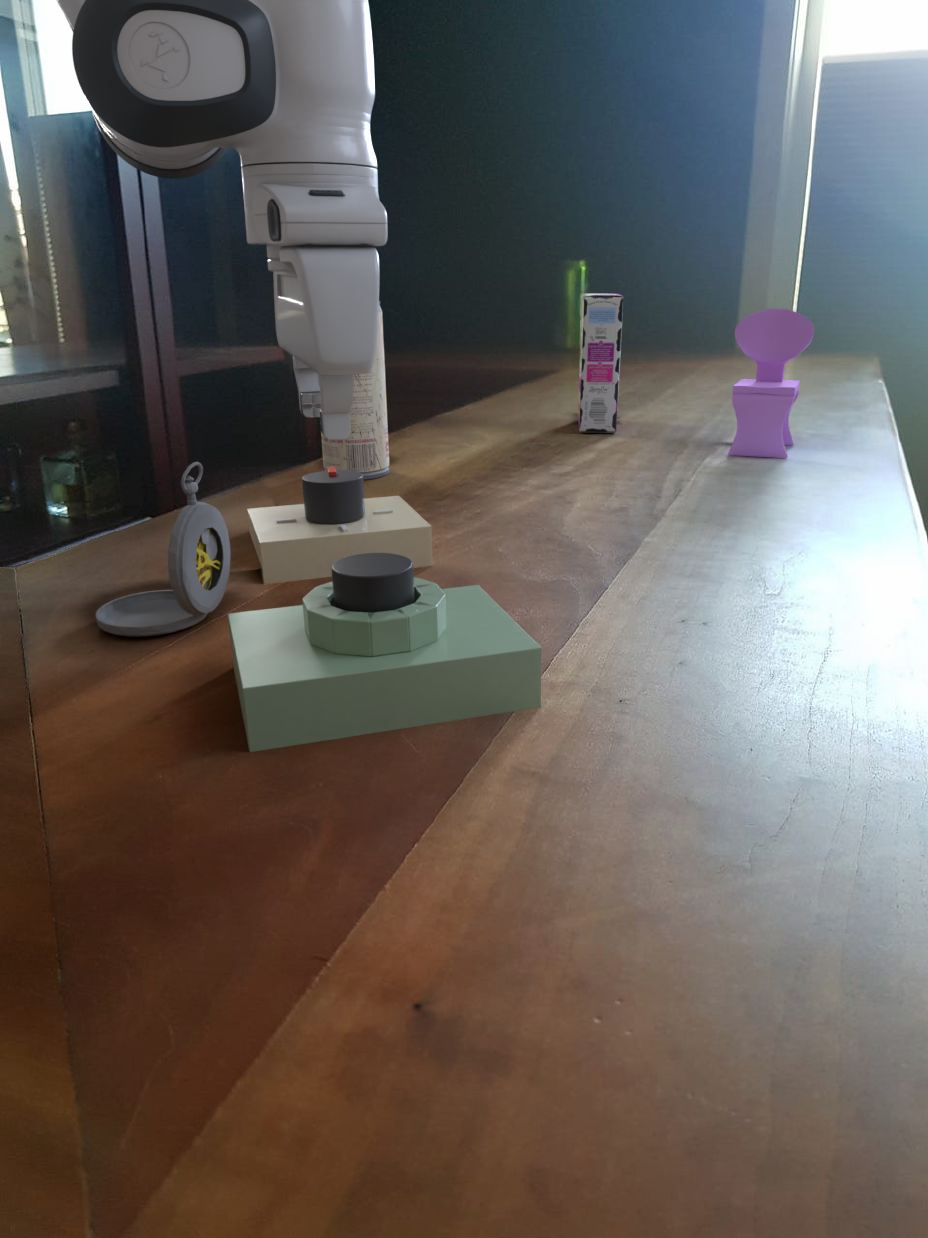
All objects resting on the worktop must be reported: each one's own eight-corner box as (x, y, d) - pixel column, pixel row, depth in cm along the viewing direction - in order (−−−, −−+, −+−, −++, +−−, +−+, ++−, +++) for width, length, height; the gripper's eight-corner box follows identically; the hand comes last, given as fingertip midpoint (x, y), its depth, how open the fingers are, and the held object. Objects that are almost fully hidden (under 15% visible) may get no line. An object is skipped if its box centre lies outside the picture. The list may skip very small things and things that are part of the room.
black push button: (341, 621, 45) (339, 580, 44) (328, 595, 48) (325, 556, 48) (423, 611, 46) (421, 571, 45) (404, 586, 49) (402, 548, 49)
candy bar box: (618, 433, 118) (624, 294, 112) (578, 433, 118) (582, 295, 112) (614, 419, 128) (619, 291, 122) (577, 419, 129) (580, 292, 123)
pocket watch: (94, 613, 60) (68, 456, 56) (228, 594, 63) (211, 444, 59) (103, 660, 53) (74, 483, 49) (253, 635, 56) (236, 467, 52)
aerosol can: (403, 471, 99) (394, 267, 92) (353, 483, 94) (340, 269, 87) (360, 463, 103) (349, 268, 96) (310, 474, 99) (294, 269, 91)
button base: (249, 753, 42) (238, 650, 41) (233, 668, 51) (223, 581, 50) (541, 708, 46) (542, 612, 44) (478, 636, 55) (477, 554, 53)
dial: (367, 522, 68) (364, 476, 67) (305, 525, 67) (302, 480, 66) (363, 507, 72) (360, 464, 71) (304, 510, 71) (301, 467, 70)
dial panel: (263, 584, 65) (259, 540, 64) (250, 546, 74) (246, 506, 73) (432, 566, 68) (431, 523, 67) (400, 531, 77) (399, 493, 76)
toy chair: (717, 455, 104) (728, 311, 99) (729, 441, 111) (739, 307, 106) (797, 459, 101) (812, 311, 96) (803, 445, 108) (818, 307, 103)
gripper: (248, 221, 71) (262, 407, 76) (285, 210, 53) (300, 455, 58) (331, 222, 73) (340, 403, 78) (394, 211, 55) (400, 449, 60)
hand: (323, 426), depth 68 cm, fingers open, 8 cm apart
